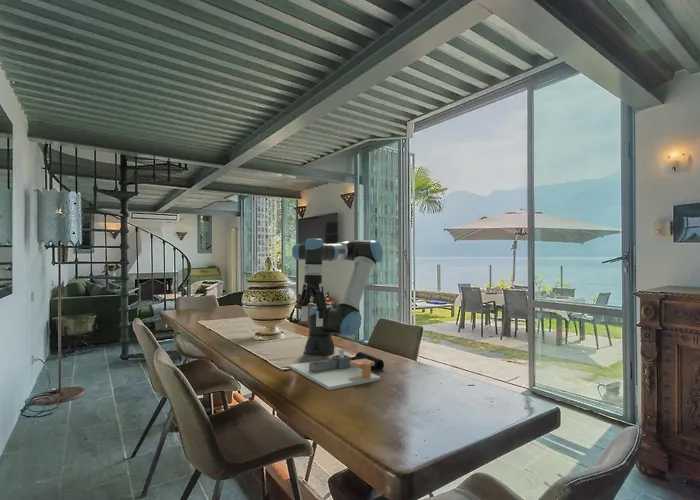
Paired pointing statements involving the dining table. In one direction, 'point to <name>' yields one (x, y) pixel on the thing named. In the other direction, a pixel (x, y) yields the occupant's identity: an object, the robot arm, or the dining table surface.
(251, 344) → the dining table surface
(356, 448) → the dining table surface
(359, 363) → the keeper
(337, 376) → the board
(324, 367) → the link
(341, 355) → the cylinder
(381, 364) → the pipe connector
